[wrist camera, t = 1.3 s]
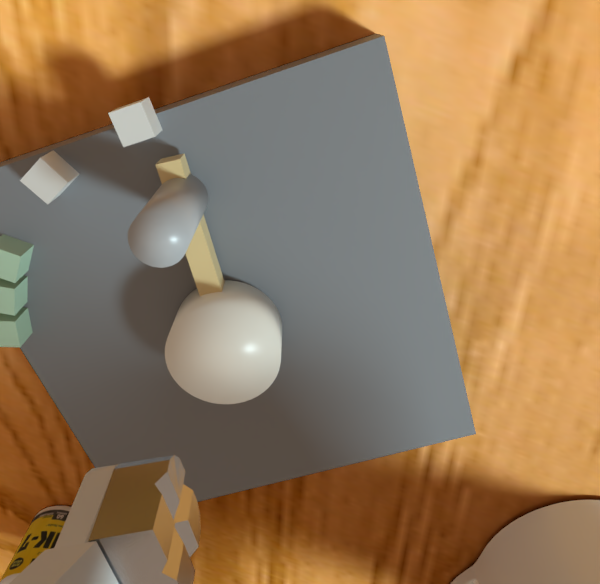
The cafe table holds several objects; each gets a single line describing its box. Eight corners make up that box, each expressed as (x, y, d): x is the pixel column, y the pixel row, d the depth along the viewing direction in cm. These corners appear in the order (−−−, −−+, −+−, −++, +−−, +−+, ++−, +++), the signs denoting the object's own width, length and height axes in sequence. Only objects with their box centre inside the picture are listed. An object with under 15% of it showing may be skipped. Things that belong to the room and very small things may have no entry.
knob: (292, 362, 33) (292, 436, 27) (194, 381, 34) (172, 458, 28) (232, 141, 28) (215, 176, 22) (115, 168, 28) (68, 209, 22)
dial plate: (463, 404, 39) (483, 451, 34) (134, 487, 42) (116, 539, 38) (371, 16, 28) (384, 17, 24) (-59, 165, 31) (-112, 189, 27)
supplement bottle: (93, 503, 42) (49, 609, 35) (100, 547, 44) (60, 657, 37) (28, 502, 42) (-31, 608, 35) (38, 546, 44) (-15, 656, 37)
